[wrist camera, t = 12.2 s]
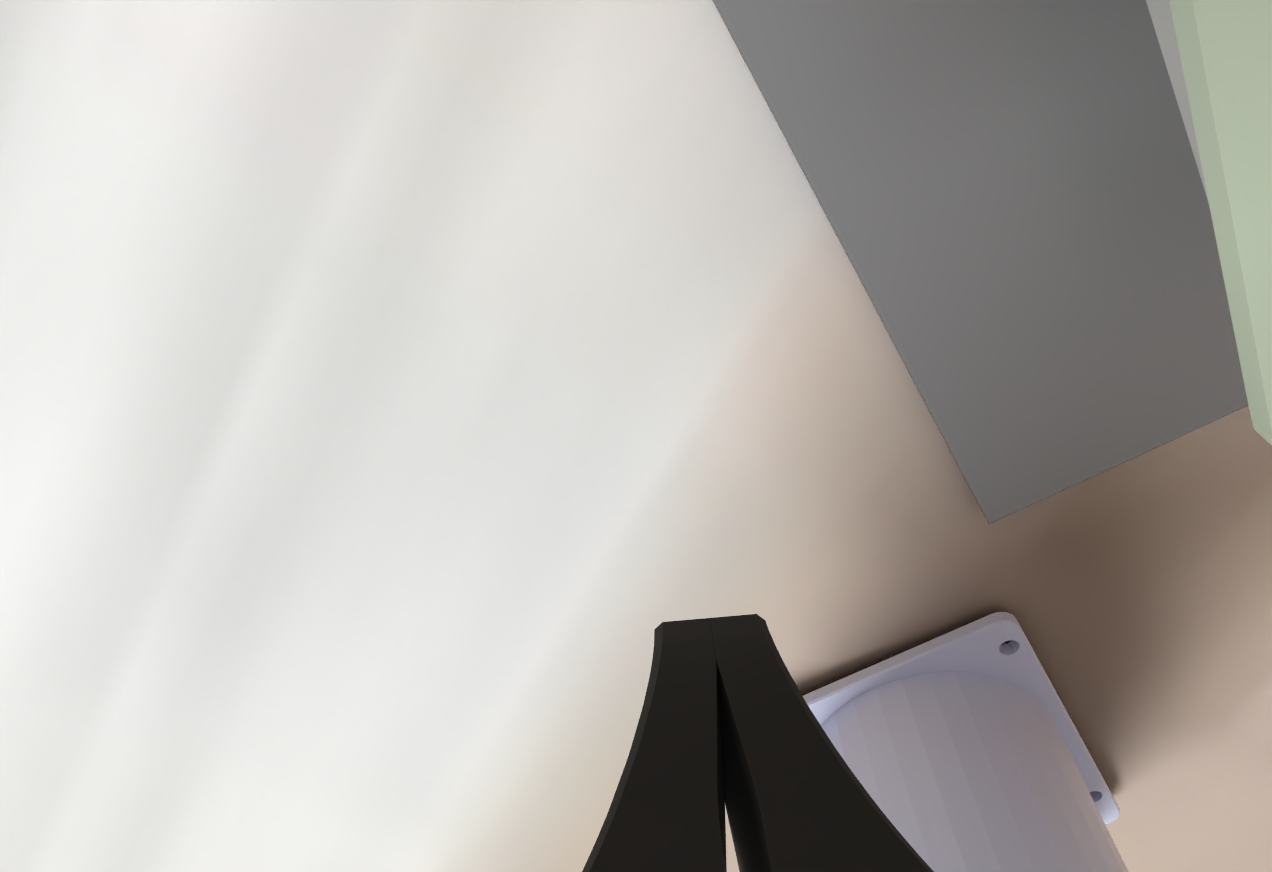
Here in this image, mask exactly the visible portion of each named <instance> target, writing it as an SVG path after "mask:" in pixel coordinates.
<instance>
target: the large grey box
mask: <svg viewBox="0 0 1272 872" xmlns="http://www.w3.org/2000/svg"><path fill="white" fill-rule="evenodd" d="M713 2H714V4H715V6H716V8H717V9H718V11H719V13H720V15H721V17H722V19H723V21H724V23H725V25H726V26H727V28H728V30H729V32H730V34H731V36H732V38H733V40H734V42H735V44H736V45H737V47H738V49H739V51H740V53H741V55H742V57H743V59H744V61H745V62H746V64H747V66H748V68H749V70H750V72H751V74H752V76H753V78H754V80H755V81H756V83H757V85H758V87H759V89H760V91H761V93H762V95H763V97H764V98H765V100H766V102H767V104H768V106H769V108H770V110H771V112H772V114H773V116H774V117H775V119H776V121H777V123H778V125H779V127H780V129H781V131H782V133H783V134H784V136H785V138H786V140H787V142H788V144H789V146H790V148H791V150H792V152H793V153H794V155H795V157H796V159H797V161H798V163H799V165H800V167H801V169H802V170H803V172H804V174H805V176H806V178H807V180H808V182H809V184H810V186H811V188H812V189H813V191H814V193H815V195H816V197H817V199H818V201H819V203H820V205H821V206H822V208H823V210H824V212H825V214H826V216H827V218H828V220H829V222H830V224H831V225H832V227H833V229H834V231H835V233H836V235H837V237H838V239H839V241H840V242H841V244H842V246H843V248H844V250H845V252H846V254H847V256H848V258H849V260H850V261H851V263H852V265H853V267H854V269H855V271H856V273H857V275H858V277H859V278H860V280H861V282H862V284H863V286H864V288H865V290H866V292H867V294H868V295H869V297H870V299H871V301H872V303H873V305H874V307H875V309H876V311H877V313H878V314H879V316H880V318H881V320H882V322H883V324H884V326H885V328H886V330H887V331H888V333H889V335H890V337H891V339H892V341H893V343H894V345H895V347H896V349H897V350H898V352H899V354H900V356H901V358H902V360H903V362H904V364H905V366H906V367H907V369H908V371H909V373H910V375H911V377H912V379H913V381H914V383H915V385H916V386H917V388H918V390H919V392H920V394H921V396H922V398H923V400H924V402H925V403H926V405H927V407H928V409H929V411H930V413H931V415H932V417H933V419H934V421H935V422H936V424H937V426H938V428H939V430H940V432H941V434H942V436H943V438H944V439H945V441H946V443H947V445H948V447H949V449H950V451H951V453H952V455H953V457H954V458H955V460H956V462H957V464H958V466H959V468H960V470H961V472H962V474H963V475H964V477H965V479H966V481H967V483H968V485H969V487H970V489H971V491H972V493H973V494H974V496H975V498H976V500H977V502H978V504H979V506H980V508H981V510H982V511H983V513H984V515H985V517H986V519H987V521H988V523H989V524H990V523H992V522H995V521H997V520H999V519H1001V518H1003V517H1006V516H1008V515H1010V514H1012V513H1014V512H1016V511H1019V510H1021V509H1023V508H1025V507H1027V506H1030V505H1032V504H1034V503H1036V502H1038V501H1040V500H1043V499H1045V498H1047V497H1049V496H1051V495H1054V494H1056V493H1058V492H1060V491H1062V490H1064V489H1067V488H1069V487H1071V486H1073V485H1075V484H1078V483H1080V482H1082V481H1084V480H1086V479H1088V478H1091V477H1093V476H1095V475H1097V474H1099V473H1102V472H1104V471H1106V470H1108V469H1110V468H1113V467H1115V466H1117V465H1119V464H1121V463H1123V462H1126V461H1128V460H1130V459H1132V458H1134V457H1137V456H1139V455H1141V454H1143V453H1145V452H1147V451H1150V450H1152V449H1154V448H1156V447H1158V446H1161V445H1163V444H1165V443H1167V442H1169V441H1171V440H1174V439H1176V438H1178V437H1180V436H1182V435H1185V434H1187V433H1189V432H1191V431H1193V430H1195V429H1198V428H1200V427H1202V426H1204V425H1206V424H1209V423H1211V422H1213V421H1215V420H1217V419H1219V418H1222V417H1224V416H1226V415H1228V414H1230V413H1233V412H1235V411H1237V410H1239V409H1241V408H1243V407H1246V406H1248V400H1247V395H1246V390H1245V385H1244V380H1243V375H1242V370H1241V365H1240V360H1239V354H1238V349H1237V344H1236V339H1235V334H1234V329H1233V324H1232V319H1231V314H1230V309H1229V304H1228V298H1227V293H1226V288H1225V283H1224V278H1223V273H1222V268H1221V263H1220V258H1219V253H1218V247H1217V242H1216V237H1215V232H1214V227H1213V222H1212V217H1211V212H1210V207H1209V202H1208V196H1207V191H1206V186H1205V181H1204V176H1203V171H1202V166H1201V161H1200V156H1199V151H1198V146H1197V140H1196V135H1195V130H1194V125H1193V120H1192V115H1191V110H1190V105H1189V100H1188V95H1187V89H1186V84H1185V79H1184V74H1183V69H1182V64H1181V59H1180V54H1179V49H1178V44H1177V38H1176V33H1175V28H1174V23H1173V18H1172V13H1171V8H1170V3H1169V0H713Z"/></svg>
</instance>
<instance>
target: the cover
mask: <svg viewBox="0 0 1272 872" xmlns="http://www.w3.org/2000/svg"><path fill="white" fill-rule="evenodd" d="M1169 3H1170V8H1171V13H1172V18H1173V23H1174V28H1175V33H1176V38H1177V44H1178V49H1179V54H1180V59H1181V64H1182V69H1183V74H1184V79H1185V84H1186V89H1187V95H1188V100H1189V105H1190V110H1191V115H1192V120H1193V125H1194V130H1195V135H1196V140H1197V146H1198V151H1199V156H1200V161H1201V166H1202V171H1203V176H1204V181H1205V186H1206V191H1207V196H1208V202H1209V207H1210V212H1211V217H1212V222H1213V227H1214V232H1215V237H1216V242H1217V247H1218V253H1219V258H1220V263H1221V268H1222V273H1223V278H1224V283H1225V288H1226V293H1227V298H1228V304H1229V309H1230V314H1231V319H1232V324H1233V329H1234V334H1235V339H1236V344H1237V349H1238V354H1239V360H1240V365H1241V370H1242V375H1243V380H1244V385H1245V390H1246V395H1247V400H1248V405H1249V411H1250V416H1251V421H1252V426H1253V428H1254V429H1255V430H1256V431H1257V432H1258V433H1259V434H1260V435H1261V436H1262V437H1263V438H1264V439H1265V440H1266V441H1267V442H1268V443H1269V444H1270V445H1271V446H1272V0H1169Z"/></svg>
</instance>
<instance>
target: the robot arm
mask: <svg viewBox="0 0 1272 872" xmlns="http://www.w3.org/2000/svg"><path fill="white" fill-rule="evenodd" d="M1010 640H1012V641H1011V642H1009V643H1007V644H1003V645H1001V644H1002V643H1004V642H1005V641H1010ZM725 805H726V810H727V814H728V819H729V824H730V828H731V833H732V838H733V842H734V847H735V852H736V856H737V861H738V866H739V870H740V872H1128V870H1127V868H1126V866H1125V864H1124V862H1123V860H1122V858H1121V856H1120V854H1119V852H1118V850H1117V848H1116V846H1115V844H1114V842H1113V840H1112V838H1111V836H1110V833H1109V831H1108V829H1107V827H1106V825H1107V824H1109V823H1111V822H1113V821H1114V820H1115V819H1116V818H1117V817H1118V815H1119V813H1120V809H1119V807H1118V805H1117V803H1116V801H1115V799H1114V797H1113V795H1112V793H1111V792H1110V790H1109V788H1108V786H1107V784H1106V782H1105V781H1104V779H1103V777H1102V775H1101V773H1100V771H1099V770H1098V768H1097V766H1096V764H1095V762H1094V760H1093V758H1092V757H1091V755H1090V753H1089V751H1088V749H1087V747H1086V746H1085V744H1084V742H1083V740H1082V738H1081V736H1080V735H1079V733H1078V731H1077V729H1076V727H1075V725H1074V724H1073V722H1072V720H1071V718H1070V716H1069V714H1068V713H1067V711H1066V709H1065V707H1064V705H1063V703H1062V702H1061V700H1060V698H1059V696H1058V694H1057V692H1056V691H1055V689H1054V687H1053V685H1052V683H1051V681H1050V680H1049V678H1048V676H1047V674H1046V672H1045V670H1044V668H1043V667H1042V665H1041V663H1040V661H1039V659H1038V657H1037V656H1036V654H1035V652H1034V650H1033V648H1032V646H1031V645H1030V643H1029V641H1028V639H1027V637H1026V635H1025V634H1024V632H1023V630H1022V628H1021V626H1020V624H1019V623H1018V621H1017V619H1016V618H1015V617H1014V616H1013V615H1012V614H1010V613H1007V612H996V613H993V614H990V615H988V616H985V617H983V618H981V619H978V620H976V621H974V622H971V623H969V624H967V625H964V626H962V627H960V628H958V629H955V630H953V631H951V632H948V633H946V634H944V635H941V636H939V637H937V638H935V639H932V640H930V641H928V642H925V643H923V644H921V645H918V646H916V647H914V648H912V649H909V650H907V651H905V652H902V653H900V654H898V655H895V656H893V657H891V658H888V659H886V660H884V661H882V662H879V663H877V664H875V665H872V666H870V667H868V668H865V669H863V670H861V671H859V672H856V673H854V674H852V675H849V676H847V677H845V678H842V679H840V680H838V681H835V682H833V683H831V684H829V685H826V686H824V687H822V688H819V689H817V690H815V691H812V692H810V693H808V694H806V695H803V696H802V695H801V693H800V691H799V689H798V688H797V686H796V684H795V682H794V680H793V679H792V677H791V675H790V673H789V672H788V670H787V668H786V666H785V664H784V662H783V660H782V658H781V656H780V654H779V652H778V650H777V648H776V646H775V644H774V641H773V639H772V637H771V635H770V632H769V630H768V627H767V625H766V622H765V620H764V619H762V618H761V617H760V616H758V615H757V614H752V615H741V616H729V617H717V618H706V619H694V620H683V621H671V622H662V623H661V624H660V625H659V626H658V627H657V628H656V629H655V637H654V652H653V660H652V667H651V673H650V678H649V683H648V687H647V692H646V696H645V700H644V705H643V709H642V712H641V715H640V719H639V722H638V726H637V729H636V733H635V736H634V740H633V743H632V747H631V750H630V753H629V756H628V759H627V762H626V765H625V768H624V771H623V773H622V776H621V779H620V782H619V784H618V787H617V790H616V792H615V795H614V798H613V801H612V803H611V806H610V809H609V812H608V814H607V817H606V819H605V821H604V824H603V826H602V829H601V831H600V833H599V836H598V838H597V840H596V843H595V845H594V847H593V850H592V852H591V854H590V856H589V858H588V860H587V863H586V865H585V867H584V869H583V871H582V872H726V833H725Z"/></svg>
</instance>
